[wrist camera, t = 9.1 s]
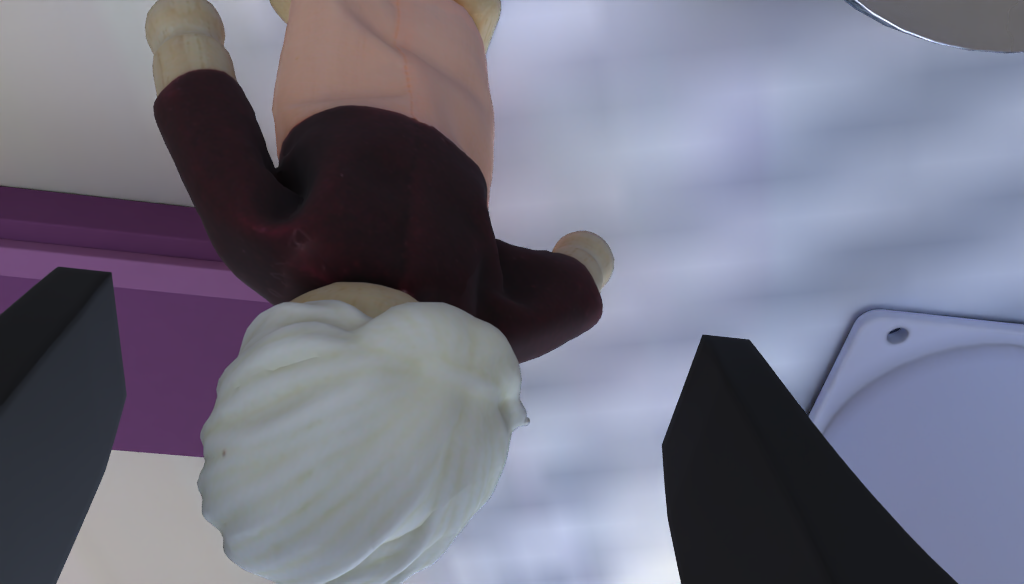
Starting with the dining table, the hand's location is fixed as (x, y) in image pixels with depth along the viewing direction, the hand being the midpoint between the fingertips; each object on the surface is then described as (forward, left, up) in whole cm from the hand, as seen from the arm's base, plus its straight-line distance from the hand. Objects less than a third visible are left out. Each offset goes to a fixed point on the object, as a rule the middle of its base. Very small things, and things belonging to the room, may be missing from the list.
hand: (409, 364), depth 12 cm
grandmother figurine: (+1, 0, -10) cm, 10 cm away
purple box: (+6, +8, -9) cm, 14 cm away
